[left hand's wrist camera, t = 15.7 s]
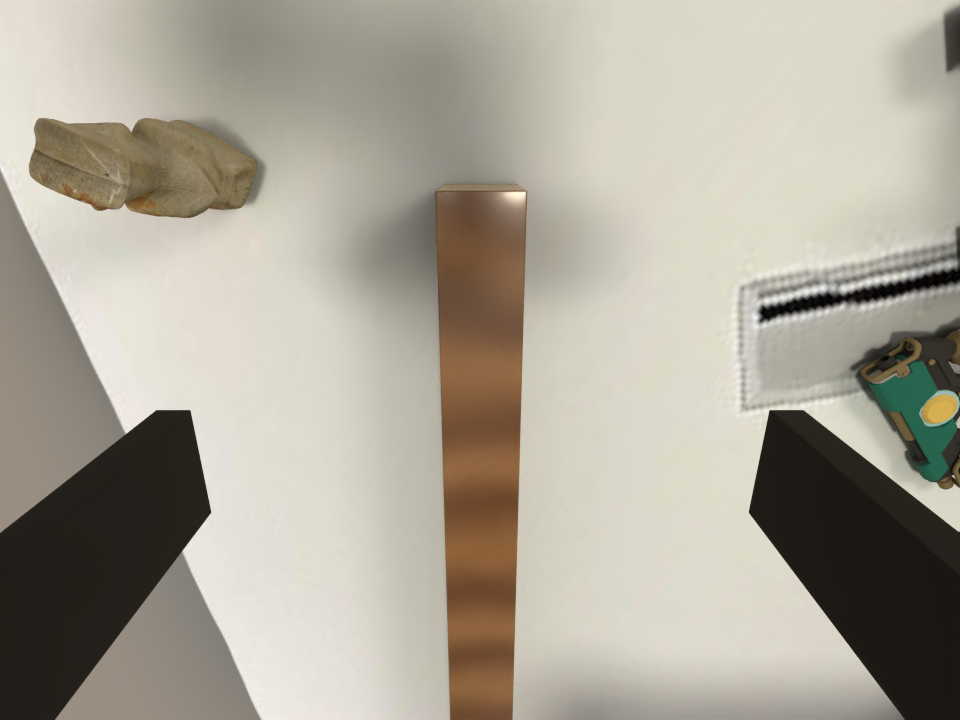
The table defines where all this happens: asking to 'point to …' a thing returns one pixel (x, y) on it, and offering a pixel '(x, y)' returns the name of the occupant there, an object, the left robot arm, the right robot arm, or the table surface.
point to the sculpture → (141, 166)
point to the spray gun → (924, 402)
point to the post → (481, 435)
